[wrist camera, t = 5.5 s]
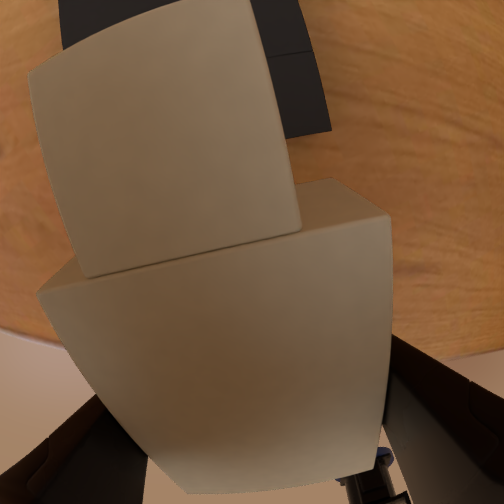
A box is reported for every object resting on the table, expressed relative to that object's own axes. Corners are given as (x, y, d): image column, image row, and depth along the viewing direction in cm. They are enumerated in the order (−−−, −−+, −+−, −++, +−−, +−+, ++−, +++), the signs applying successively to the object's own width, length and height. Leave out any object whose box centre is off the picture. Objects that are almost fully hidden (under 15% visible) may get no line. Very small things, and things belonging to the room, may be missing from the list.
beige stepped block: (351, 398, 10) (373, 469, 7) (195, 424, 10) (187, 494, 7) (302, 35, 6) (341, -24, 3) (64, 107, 6) (-23, 110, 3)
